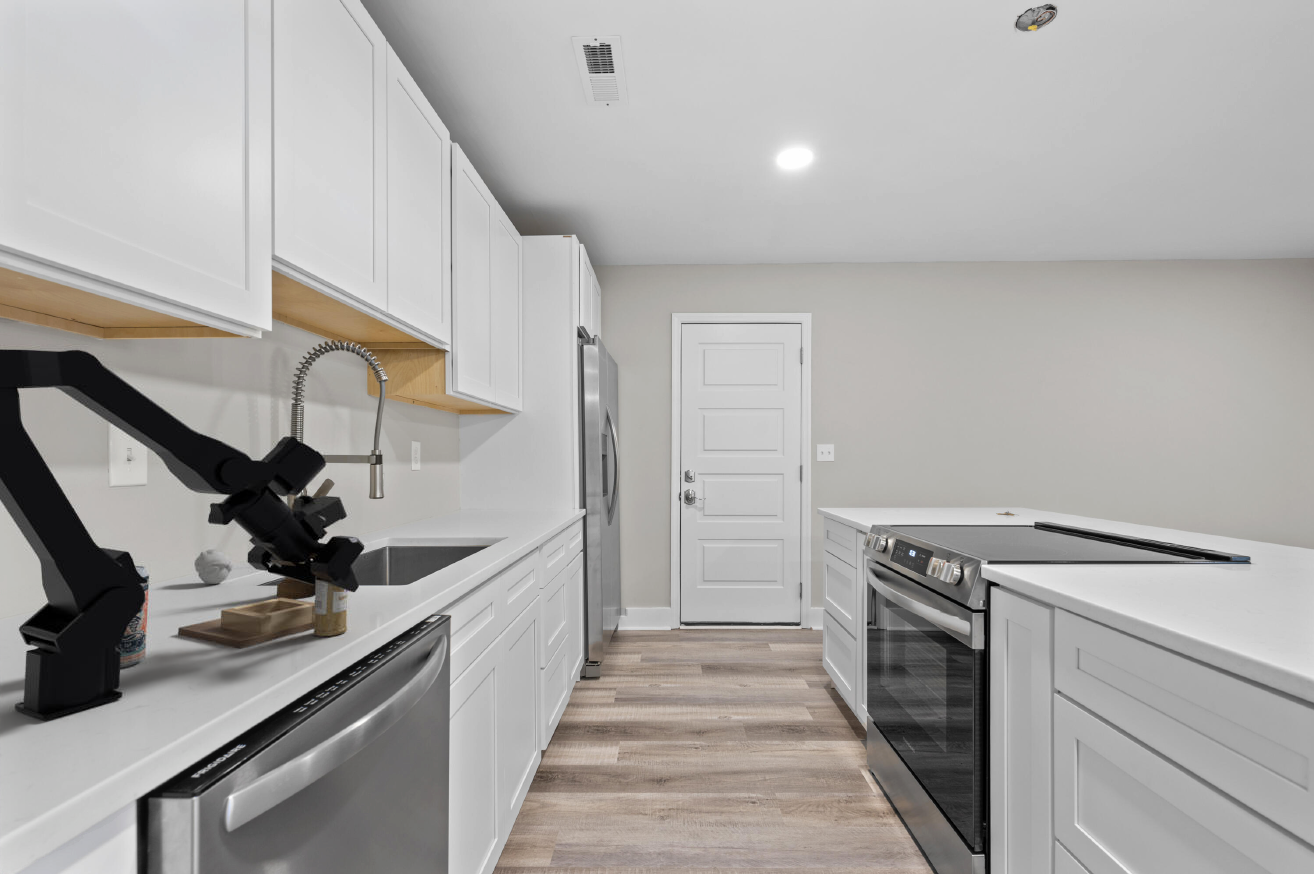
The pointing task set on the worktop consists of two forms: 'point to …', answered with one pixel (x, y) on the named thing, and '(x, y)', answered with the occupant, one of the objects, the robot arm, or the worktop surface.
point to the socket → (255, 623)
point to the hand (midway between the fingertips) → (340, 586)
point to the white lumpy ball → (213, 566)
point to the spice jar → (330, 609)
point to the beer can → (135, 631)
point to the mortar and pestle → (294, 588)
